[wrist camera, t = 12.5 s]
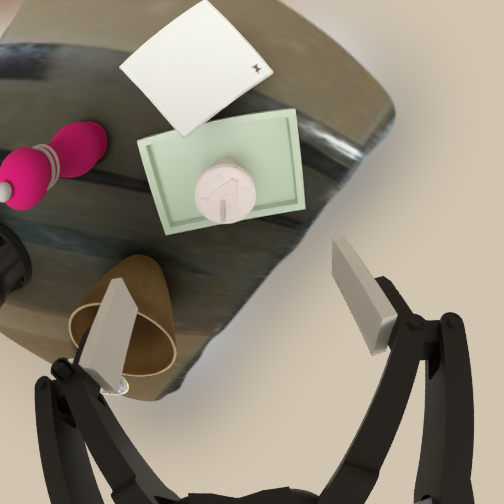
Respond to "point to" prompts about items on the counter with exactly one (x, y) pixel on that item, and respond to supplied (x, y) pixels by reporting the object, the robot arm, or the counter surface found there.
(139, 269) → the plant pot
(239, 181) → the smoothie
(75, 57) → the counter surface
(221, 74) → the supplement box
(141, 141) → the tray
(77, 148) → the pepper mill
